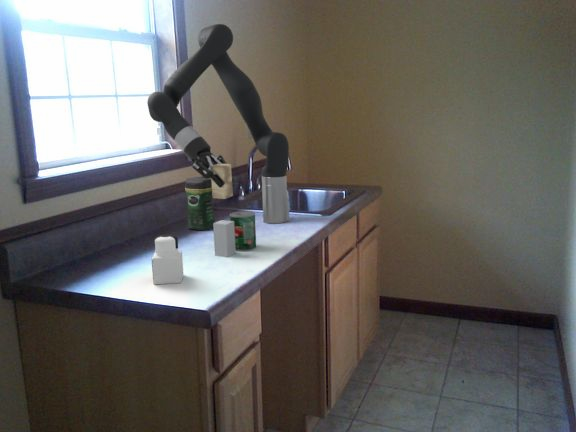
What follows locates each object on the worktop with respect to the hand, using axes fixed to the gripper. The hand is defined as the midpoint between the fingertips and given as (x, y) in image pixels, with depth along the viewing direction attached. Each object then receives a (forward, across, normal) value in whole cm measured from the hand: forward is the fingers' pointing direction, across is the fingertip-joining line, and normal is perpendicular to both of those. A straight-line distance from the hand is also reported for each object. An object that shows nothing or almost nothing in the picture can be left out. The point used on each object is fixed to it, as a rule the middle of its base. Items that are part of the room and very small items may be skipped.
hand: (227, 184), depth 178 cm
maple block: (+2, 0, +4) cm, 5 cm away
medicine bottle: (+15, -33, +13) cm, 38 cm away
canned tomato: (+17, +2, +12) cm, 21 cm away
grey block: (+16, -6, +13) cm, 22 cm away
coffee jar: (-3, +19, +33) cm, 38 cm away
